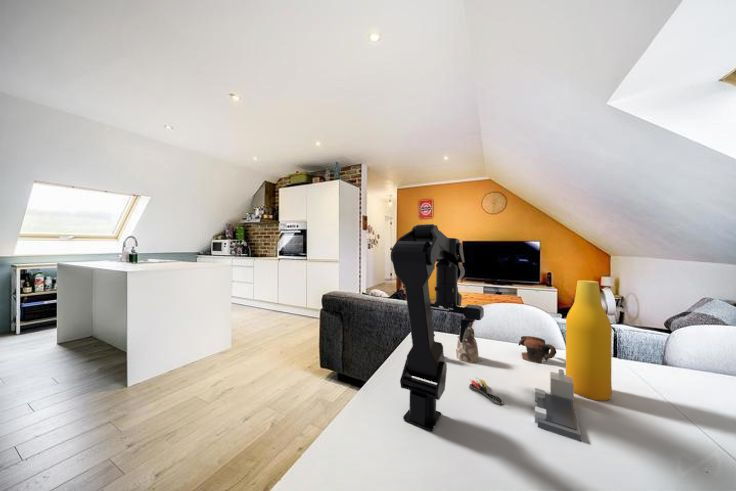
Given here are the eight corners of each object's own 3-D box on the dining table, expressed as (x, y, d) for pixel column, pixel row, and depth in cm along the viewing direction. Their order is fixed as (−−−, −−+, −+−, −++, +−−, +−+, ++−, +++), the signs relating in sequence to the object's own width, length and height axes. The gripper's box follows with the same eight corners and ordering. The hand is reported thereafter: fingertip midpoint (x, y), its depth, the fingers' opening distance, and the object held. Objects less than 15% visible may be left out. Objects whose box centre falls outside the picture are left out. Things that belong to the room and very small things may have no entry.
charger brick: (573, 404, 61) (573, 377, 61) (550, 398, 64) (551, 371, 64) (571, 396, 65) (571, 369, 65) (550, 390, 67) (550, 365, 67)
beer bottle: (562, 378, 74) (563, 278, 74) (605, 388, 69) (606, 280, 69) (568, 394, 66) (568, 281, 66) (617, 406, 61) (617, 284, 61)
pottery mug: (512, 358, 89) (512, 334, 92) (527, 365, 92) (527, 342, 96) (550, 361, 79) (549, 335, 83) (566, 370, 82) (564, 344, 86)
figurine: (451, 355, 89) (451, 321, 89) (466, 352, 92) (466, 319, 92) (467, 364, 82) (467, 326, 82) (483, 360, 85) (483, 324, 85)
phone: (581, 441, 49) (581, 429, 49) (534, 426, 54) (534, 414, 54) (572, 405, 61) (572, 394, 61) (535, 394, 65) (535, 385, 65)
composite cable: (505, 406, 61) (505, 395, 61) (486, 407, 60) (486, 397, 60) (481, 384, 71) (481, 375, 71) (465, 385, 70) (465, 376, 70)
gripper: (487, 283, 73) (486, 338, 73) (425, 278, 84) (424, 326, 83) (480, 287, 64) (479, 350, 63) (411, 281, 74) (410, 335, 74)
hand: (445, 339), depth 71 cm, fingers open, 8 cm apart
